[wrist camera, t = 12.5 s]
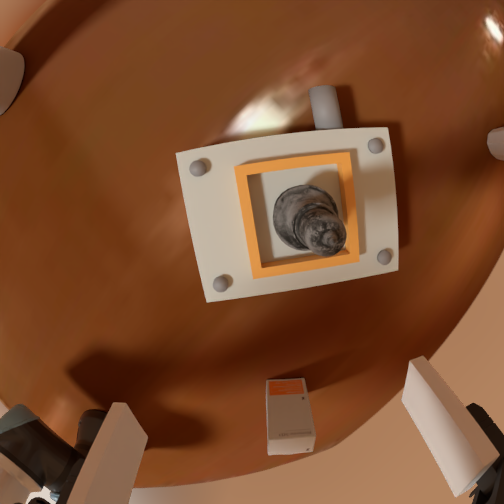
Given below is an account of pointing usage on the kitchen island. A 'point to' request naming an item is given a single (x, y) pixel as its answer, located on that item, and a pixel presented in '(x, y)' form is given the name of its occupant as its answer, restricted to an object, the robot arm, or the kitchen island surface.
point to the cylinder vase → (10, 76)
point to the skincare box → (289, 417)
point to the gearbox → (269, 189)
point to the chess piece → (309, 220)
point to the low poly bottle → (496, 143)
